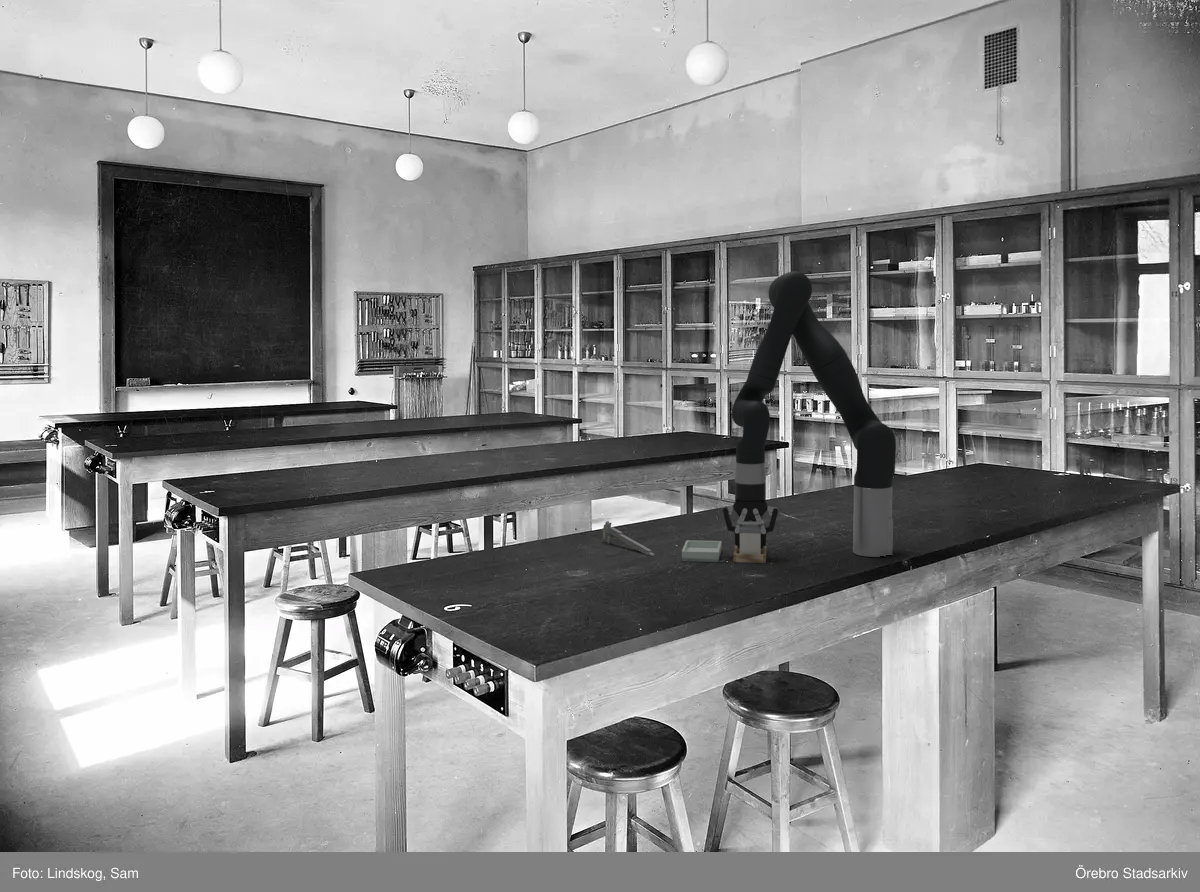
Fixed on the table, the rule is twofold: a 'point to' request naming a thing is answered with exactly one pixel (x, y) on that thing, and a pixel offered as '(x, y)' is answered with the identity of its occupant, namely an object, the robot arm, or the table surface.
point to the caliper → (622, 539)
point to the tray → (701, 551)
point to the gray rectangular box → (750, 538)
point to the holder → (749, 556)
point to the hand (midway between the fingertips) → (750, 547)
